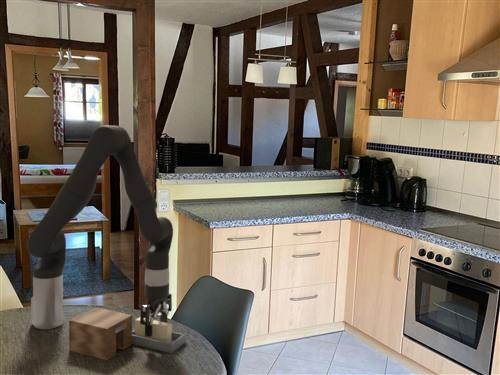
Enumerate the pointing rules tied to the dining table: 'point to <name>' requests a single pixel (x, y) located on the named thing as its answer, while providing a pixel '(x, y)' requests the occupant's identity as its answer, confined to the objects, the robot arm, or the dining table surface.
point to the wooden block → (100, 333)
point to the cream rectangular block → (155, 330)
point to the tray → (160, 342)
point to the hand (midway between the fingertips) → (156, 331)
